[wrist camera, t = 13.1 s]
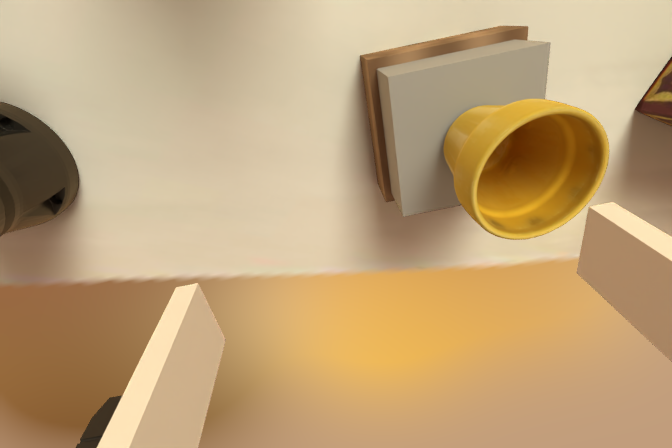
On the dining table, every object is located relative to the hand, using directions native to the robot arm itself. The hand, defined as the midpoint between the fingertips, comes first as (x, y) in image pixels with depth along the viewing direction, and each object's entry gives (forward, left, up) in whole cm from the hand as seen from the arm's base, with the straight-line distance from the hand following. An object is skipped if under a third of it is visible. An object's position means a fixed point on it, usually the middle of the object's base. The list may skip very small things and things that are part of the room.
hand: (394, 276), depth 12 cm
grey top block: (+12, -4, -29) cm, 32 cm away
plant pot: (+12, -4, -23) cm, 26 cm away
